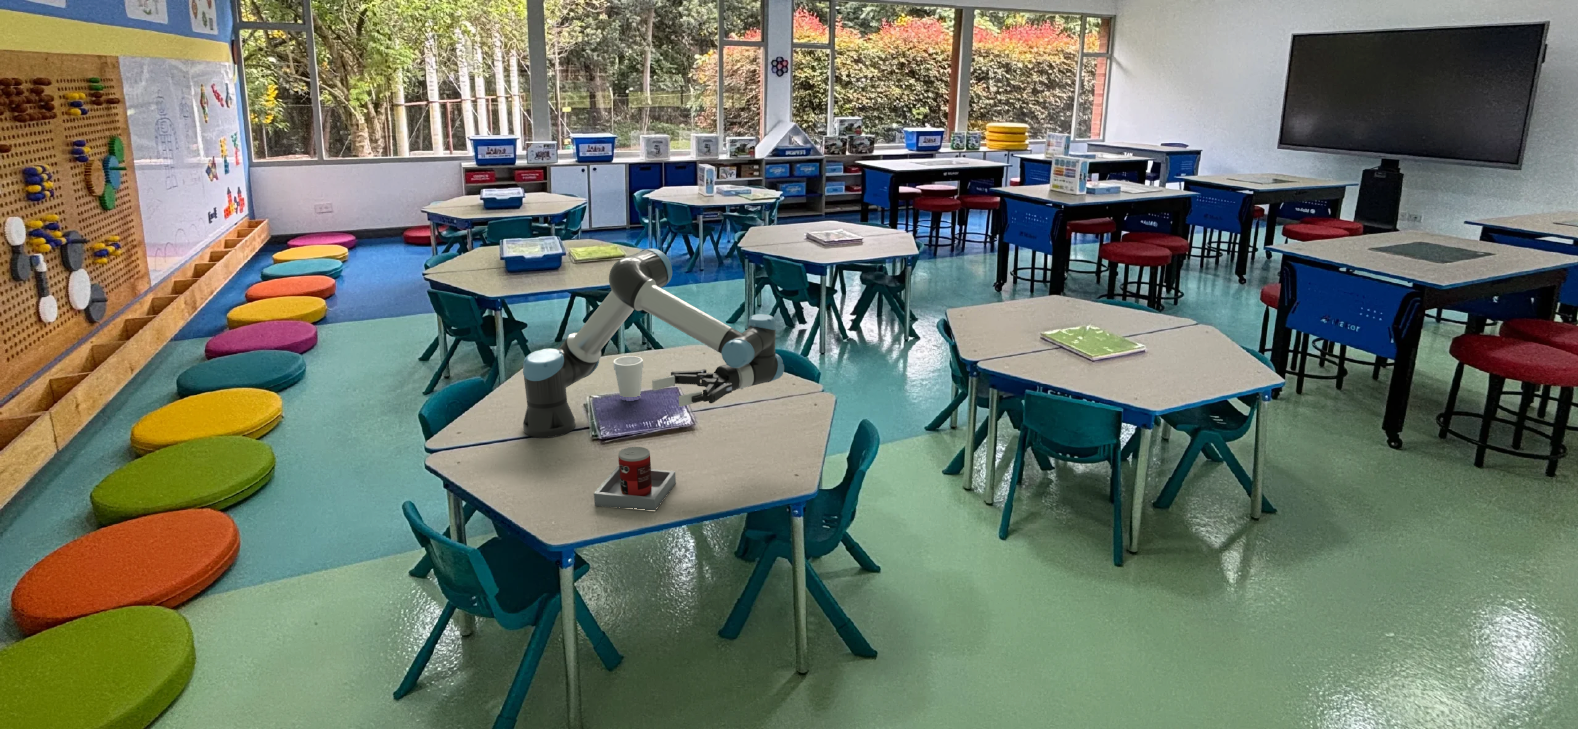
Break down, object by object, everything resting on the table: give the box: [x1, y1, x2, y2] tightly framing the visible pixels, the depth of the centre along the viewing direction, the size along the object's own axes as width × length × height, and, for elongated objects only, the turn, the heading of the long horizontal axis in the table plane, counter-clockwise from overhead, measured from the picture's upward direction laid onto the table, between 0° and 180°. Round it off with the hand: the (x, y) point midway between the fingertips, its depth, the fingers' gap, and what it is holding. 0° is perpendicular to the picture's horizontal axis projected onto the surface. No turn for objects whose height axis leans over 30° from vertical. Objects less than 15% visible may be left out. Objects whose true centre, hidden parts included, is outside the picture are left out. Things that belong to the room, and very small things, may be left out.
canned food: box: [618, 446, 652, 496], centre depth 235 cm, size 8×8×11 cm
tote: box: [593, 465, 677, 511], centre depth 236 cm, size 16×16×4 cm
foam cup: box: [613, 355, 644, 397], centre depth 298 cm, size 10×9×13 cm
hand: (665, 393), depth 240 cm, fingers open, 13 cm apart
